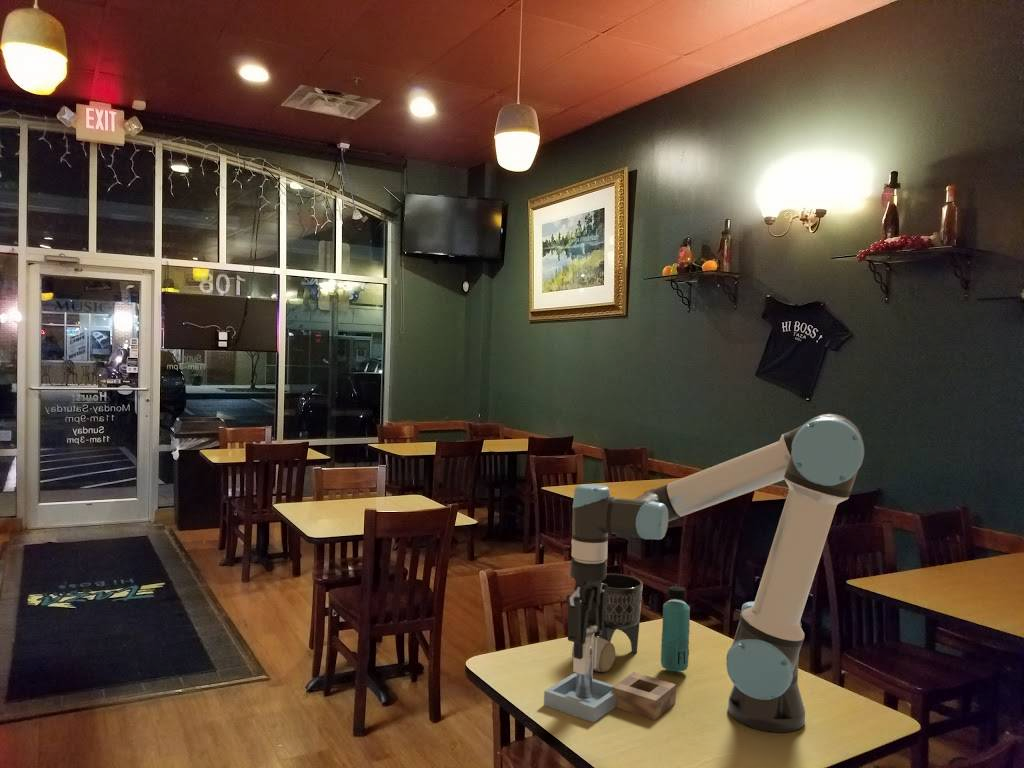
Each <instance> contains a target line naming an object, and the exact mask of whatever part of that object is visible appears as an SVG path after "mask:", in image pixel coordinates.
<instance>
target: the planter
mask: <svg viewBox="0 0 1024 768" xmlns="http://www.w3.org/2000/svg"><path fill="white" fill-rule="evenodd" d="M601 583H604V584H607V585H608V589H607V593H606V602H605V617H604V629H603V630H602V631H601V630H600V632H602V633H603V635H602V637H599V636H598V637H599V638H602V639H605V640H607V641H609V642H610V643H612V642H611V641H612V637H614V636H613V635H614V633H615V632H616V630H618V631H620V632H622V633H624V634H625V635H626V636H627V638H628V639H629V641H630V648H631V652H632V654H637V653H638V645H639V644H638V643H639V633H640V619H641V608H642V598H643V596H642V595H643V586H644V584H643V581H642V580H641V579H639V578H637V577H634V576H631V575H627V574H621V573H607V574H606V578H605V579H604V580H602V581H601ZM600 594H601V593H600Z"/></svg>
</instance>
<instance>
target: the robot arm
mask: <svg viewBox="0 0 1024 768" xmlns="http://www.w3.org/2000/svg"><path fill="white" fill-rule="evenodd" d="M862 435H863V434H862V433H861V431H860V429H859V427H858V426H857V425H856V424H855V423H854V422H853V421H851V419H849V418H847V417H845V416H843V415H839V414H836V413H835V414H834V413H824V414H819V415H817V416H814V417H812V418H811V419H809V420H808V421H806V422H805V423H804V424H802V425H800V426H798V427H796V428H794V429H792V430H790V431H788V432H787V431H786V432H785V433H783V434H781V436H780V438H779V440H778V441H776V442H773V443H771V444H768V445H765V446H763V447H761V448H758V449H755V450H751V451H750V452H748V453H744V454H742V455H740V456H737V457H734V458H732V459H728V460H726V461H724V462H721V463H718V464H715V465H713V466H711V467H708V468H705V469H703V470H701V471H698V472H695V473H693V474H689V475H687V476H685V477H684V476H683V477H682V478H680V479H677V480H674V481H672V482H669V483H667V484H664V485H661V486H658V487H655V488H650V489H648V490H646V491H644V492H643V493H642V494H641V495H639V496H636V497H635V498H633V499H631V498H622V497H621V498H620V497H614V496H611V491H610V487H608V486H606V485H601V484H596V483H595V484H594V483H590V484H589V483H584V484H583V483H582V484H580V485H577V486H576V487H575V488H574V491H573V499H572V500H573V502H572V508H571V509H572V523H571V524H572V525H571V526H572V532H571V541H570V542H571V543H570V544H571V553H570V554H571V555H570V556H571V557H572V559H571V560H570V573H569V574H570V576H571V577H572V578H573V579H574V581H575V584H574V588H573V593H572V594H571V595H570V594H567V595H566V604H567V641H568V642H573V645H574V662H573V666H572V667H573V668H572V672H574V673H576V672H577V673H580V674H583V675H585V674H586V666H587V643H586V642H585V638H586V630H587V622H591V623H595V624H597V632H595V633H594V656H593V668H594V669H595V668H596V661H597V637H602V635H603V633H602V632H600V630H601V631H602V630H603V629H604V617H605V602H606V593H607V589H608V585H607V584H604V583H601V581H602V580H604V579H605V578H606V574H608V573H607V570H608V569H607V567H608V563H607V561H606V560H607V559H608V549H609V548H608V545H609V544H608V543H609V542H608V541H609V534H610V535H618V536H623V537H630V538H631V537H632V538H636V539H637V538H639V539H643V540H658V541H659V540H663V538H665V536H666V533H667V531H668V525H669V522H671V521H674V520H677V519H680V518H682V517H684V516H686V515H690V514H693V513H695V512H697V511H701V510H703V509H706V508H708V507H709V508H710V507H712V506H714V505H718V504H720V503H723V502H725V501H728V500H731V499H734V498H738V497H739V496H742V495H743V496H744V495H746V494H748V493H751V492H753V491H756V490H759V489H762V488H765V487H768V486H770V485H773V484H776V483H778V482H781V481H785V483H786V484H787V486H788V491H787V492H788V493H787V496H786V499H785V502H784V506H783V509H782V511H781V515H780V517H779V521H778V524H777V528H776V531H775V534H774V537H773V541H772V544H771V547H770V550H769V554H768V557H767V560H766V564H765V565H764V569H763V572H762V577H761V579H760V582H759V587H758V590H757V592H756V596H755V599H754V601H747V602H744V603H743V604H742V606H741V611H740V613H739V615H740V618H739V622H738V625H737V629H736V631H735V636H734V638H733V642H732V644H731V646H730V648H729V649H728V651H727V653H726V671H727V674H728V676H729V678H730V681H731V682H732V684H733V686H732V689H731V691H730V694H729V696H728V705H727V710H728V713H729V715H730V716H731V717H732V718H734V720H736V721H737V722H739V723H741V724H743V725H745V726H747V727H749V728H753V729H756V730H759V731H764V732H768V733H769V732H770V733H790V732H796V731H798V730H800V729H802V728H803V727H804V726H805V724H804V723H806V708H805V706H804V702H803V701H804V700H803V698H802V694H801V691H800V688H799V683H798V682H799V678H798V677H799V663H800V662H799V660H800V659H799V658H800V656H799V655H800V652H801V649H802V645H803V642H804V640H805V635H806V634H805V632H804V631H803V628H802V622H801V619H802V616H803V613H804V610H805V606H806V604H807V600H808V597H809V595H810V591H811V588H812V585H813V581H814V579H815V575H816V572H817V569H818V565H819V563H820V559H821V557H822V553H823V550H824V547H825V545H826V541H827V539H828V538H827V537H828V534H829V532H830V528H831V525H832V522H833V519H834V515H835V513H836V509H837V506H838V505H839V504H840V503H842V502H844V501H847V500H848V499H849V498H850V495H851V493H852V490H853V486H854V483H855V480H856V477H857V474H858V472H859V469H860V468H861V466H862V464H863V461H864V457H865V445H864V439H863V436H862ZM600 593H601V594H600ZM803 725H804V726H803ZM802 726H803V727H802ZM801 727H802V728H801Z"/></svg>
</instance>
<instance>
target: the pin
mask: <svg viewBox="0 0 1024 768" xmlns="http://www.w3.org/2000/svg"><path fill="white" fill-rule="evenodd" d="M595 632H597V624H595V623H591V622H587V630H586V638H585V642H586V643H587V666H586V674H585V675H583V674H580V673H577V672H575V673H576V690H575V696H576V697H578V698H580V699H589V698H591V697H592V682H593V679H594V678H593V677H594V675H593V674H594V670H593V656H594V633H595Z"/></svg>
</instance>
